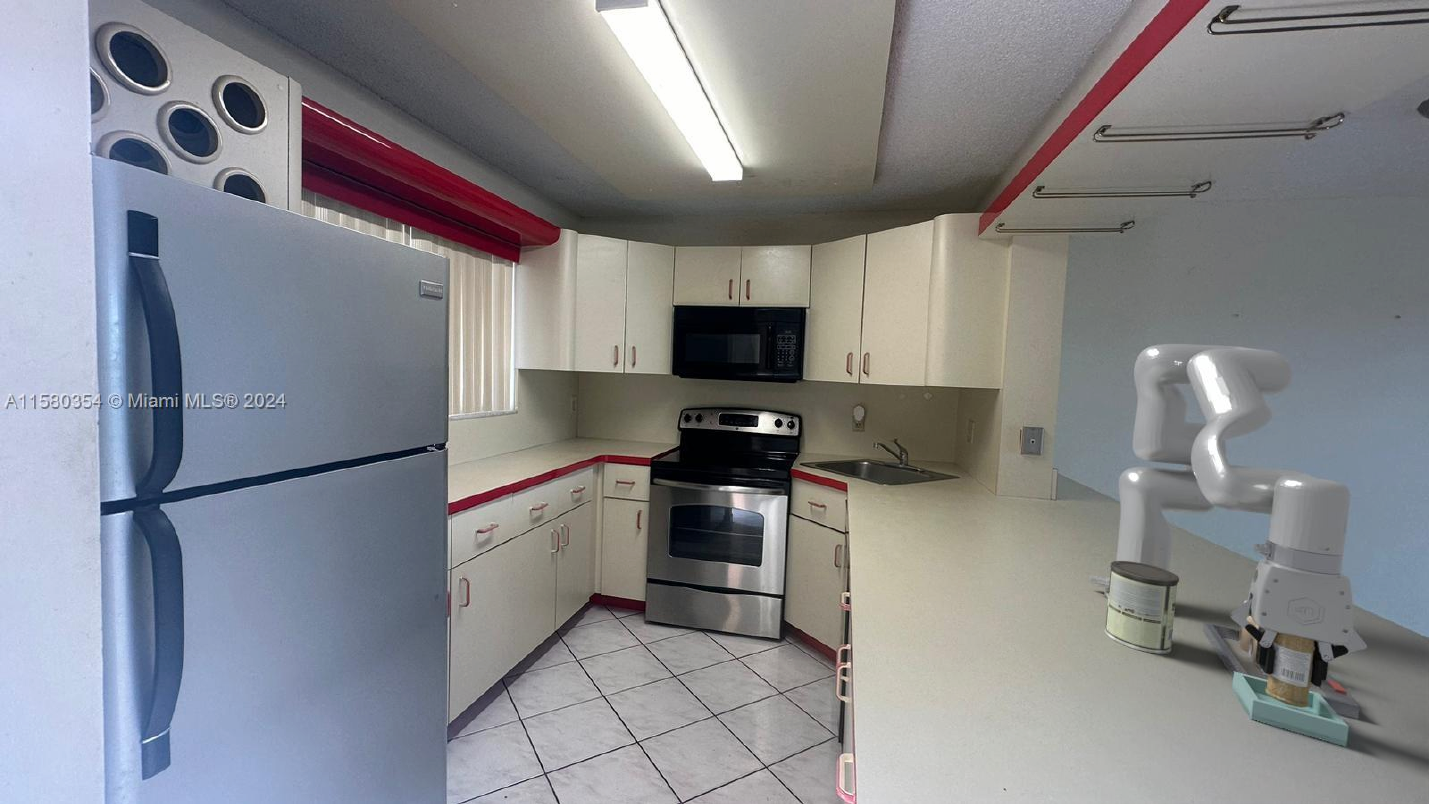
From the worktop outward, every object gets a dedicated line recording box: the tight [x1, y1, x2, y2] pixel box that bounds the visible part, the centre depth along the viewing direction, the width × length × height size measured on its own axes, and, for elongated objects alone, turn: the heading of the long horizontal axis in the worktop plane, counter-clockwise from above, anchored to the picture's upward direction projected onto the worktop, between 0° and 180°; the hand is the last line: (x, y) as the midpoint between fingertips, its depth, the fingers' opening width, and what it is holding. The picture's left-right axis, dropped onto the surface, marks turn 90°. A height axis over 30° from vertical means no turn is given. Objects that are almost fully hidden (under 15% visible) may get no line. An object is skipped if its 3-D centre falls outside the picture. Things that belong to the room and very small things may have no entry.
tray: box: [1231, 671, 1349, 748], centre depth 80 cm, size 10×10×3 cm
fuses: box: [1239, 599, 1262, 669], centre depth 97 cm, size 4×11×9 cm, turn 147°
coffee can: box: [1104, 560, 1180, 655], centre depth 102 cm, size 10×10×14 cm
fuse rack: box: [1202, 621, 1360, 720], centre depth 94 cm, size 13×24×4 cm, turn 147°
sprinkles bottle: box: [1265, 632, 1314, 707], centre depth 79 cm, size 5×5×14 cm
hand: (1288, 674), depth 80 cm, fingers closed on sprinkles bottle, 4 cm apart
